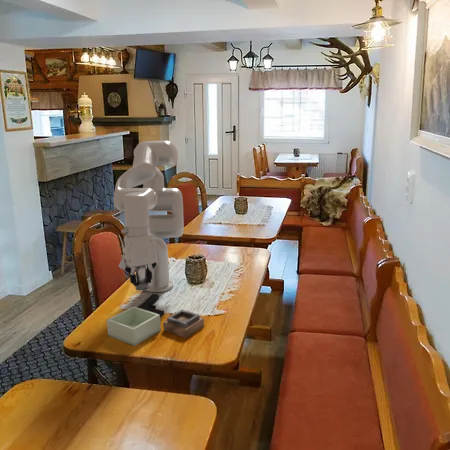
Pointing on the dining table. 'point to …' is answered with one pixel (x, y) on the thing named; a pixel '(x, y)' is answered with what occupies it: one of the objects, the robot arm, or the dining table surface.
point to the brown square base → (183, 323)
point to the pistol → (151, 305)
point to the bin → (133, 325)
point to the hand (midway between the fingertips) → (141, 282)
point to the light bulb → (141, 278)
